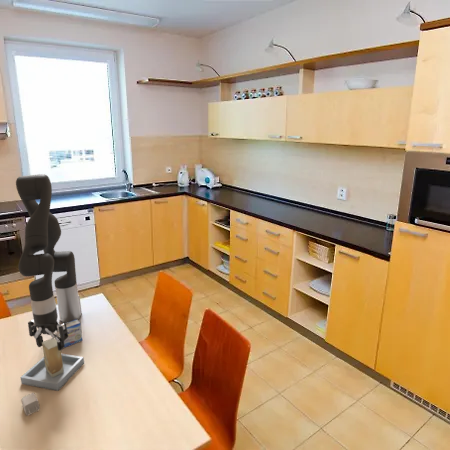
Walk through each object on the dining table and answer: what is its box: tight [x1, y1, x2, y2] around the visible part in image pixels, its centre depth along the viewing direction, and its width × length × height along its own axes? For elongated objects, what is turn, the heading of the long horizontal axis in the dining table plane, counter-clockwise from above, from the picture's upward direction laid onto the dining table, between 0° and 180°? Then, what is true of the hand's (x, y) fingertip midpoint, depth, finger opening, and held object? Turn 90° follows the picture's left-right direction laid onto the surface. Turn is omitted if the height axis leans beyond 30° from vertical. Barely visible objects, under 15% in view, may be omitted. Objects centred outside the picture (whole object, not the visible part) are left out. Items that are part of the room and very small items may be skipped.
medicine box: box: [63, 319, 83, 349], centre depth 148 cm, size 8×4×9 cm, turn 131°
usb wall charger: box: [20, 392, 40, 416], centre depth 113 cm, size 4×7×4 cm, turn 41°
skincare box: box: [41, 337, 64, 378], centre depth 129 cm, size 6×4×12 cm
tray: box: [20, 352, 85, 392], centre depth 130 cm, size 15×15×3 cm
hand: (50, 347), depth 128 cm, fingers open, 8 cm apart
